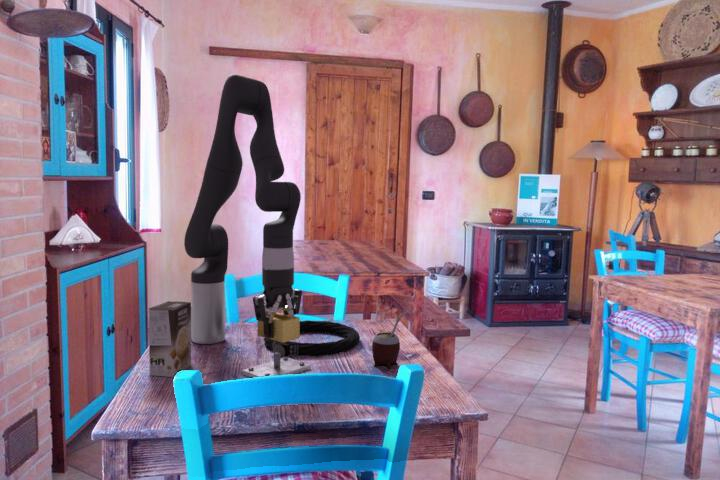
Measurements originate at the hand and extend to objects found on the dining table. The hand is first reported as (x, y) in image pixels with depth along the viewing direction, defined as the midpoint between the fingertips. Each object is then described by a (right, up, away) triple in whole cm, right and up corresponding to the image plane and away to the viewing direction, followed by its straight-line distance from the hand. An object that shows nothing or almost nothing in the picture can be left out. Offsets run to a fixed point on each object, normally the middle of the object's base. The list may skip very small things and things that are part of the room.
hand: (278, 334), depth 134 cm
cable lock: (+5, -7, +25) cm, 26 cm away
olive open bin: (0, 0, 0) cm, 0 cm away
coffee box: (-26, -9, 0) cm, 27 cm away
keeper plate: (0, -9, +1) cm, 9 cm away
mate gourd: (+27, -9, +7) cm, 29 cm away
